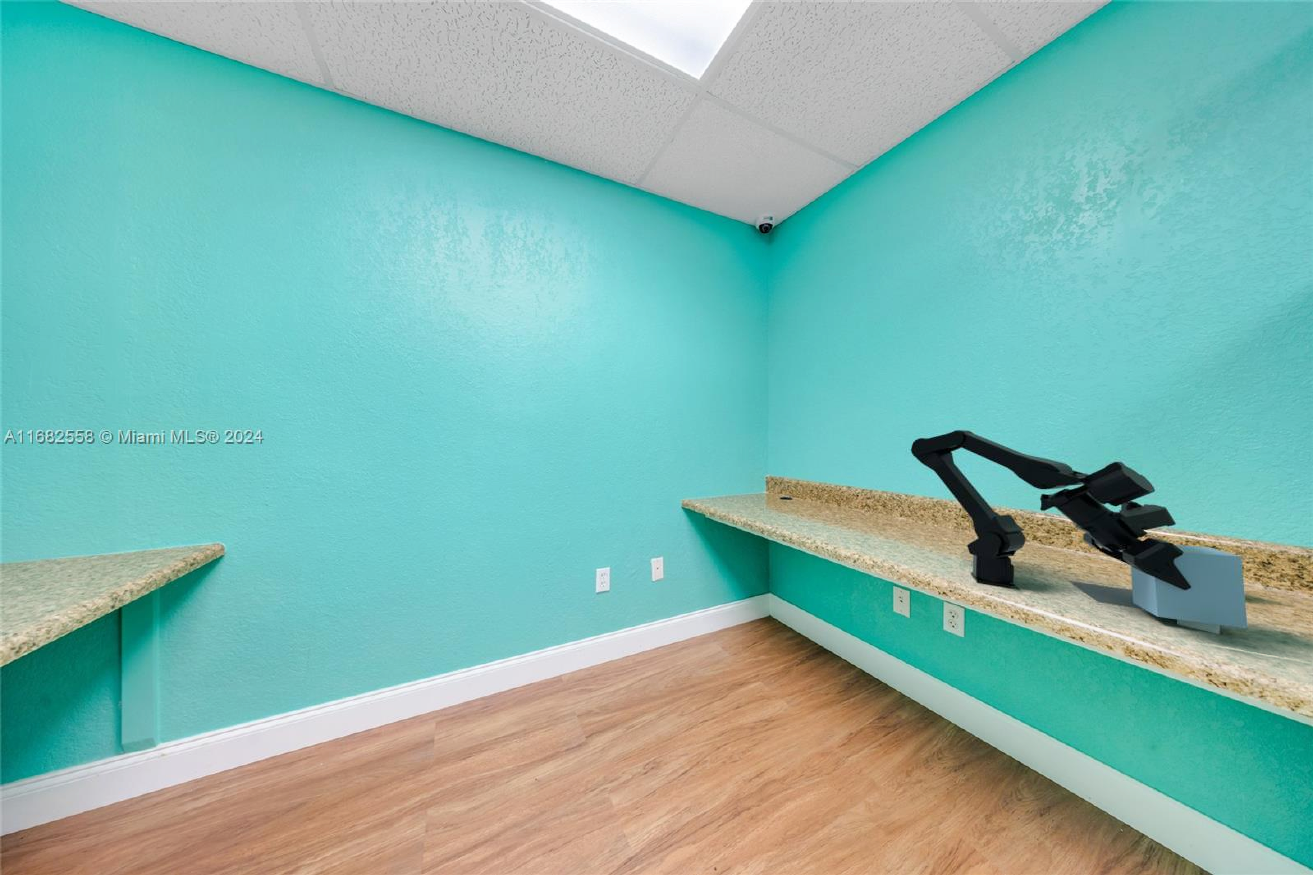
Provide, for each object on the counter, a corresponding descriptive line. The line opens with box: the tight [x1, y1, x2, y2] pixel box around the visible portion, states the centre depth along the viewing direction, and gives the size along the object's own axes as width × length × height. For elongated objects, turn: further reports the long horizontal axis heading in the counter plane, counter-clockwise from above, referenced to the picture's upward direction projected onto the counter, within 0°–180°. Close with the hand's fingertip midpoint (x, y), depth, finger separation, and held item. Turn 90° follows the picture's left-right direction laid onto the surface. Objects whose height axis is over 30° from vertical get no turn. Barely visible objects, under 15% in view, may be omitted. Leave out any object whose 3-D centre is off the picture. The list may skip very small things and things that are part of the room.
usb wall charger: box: [1176, 619, 1221, 635], centre depth 70 cm, size 4×7×4 cm, turn 36°
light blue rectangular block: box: [1130, 544, 1248, 629], centre depth 70 cm, size 10×7×12 cm
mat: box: [1067, 580, 1144, 610], centre depth 80 cm, size 16×13×1 cm
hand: (1172, 581), depth 71 cm, fingers closed on light blue rectangular block, 7 cm apart
